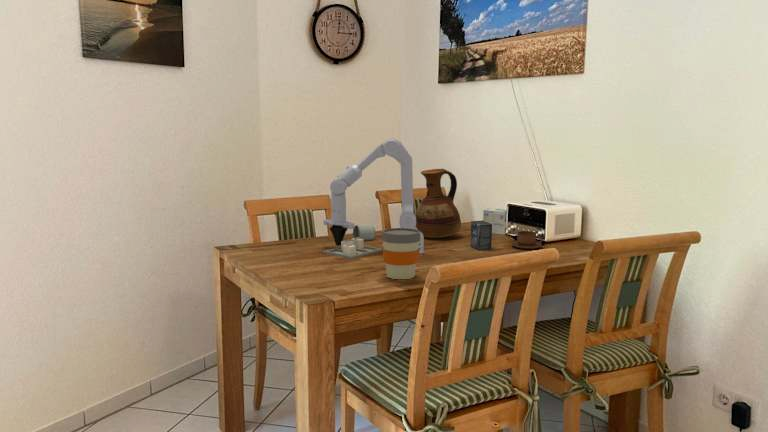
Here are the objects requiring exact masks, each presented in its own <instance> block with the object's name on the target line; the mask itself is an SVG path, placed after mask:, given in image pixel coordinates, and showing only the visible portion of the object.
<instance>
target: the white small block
mask: <svg viewBox="0 0 768 432" xmlns="http://www.w3.org/2000/svg"><path fill="white" fill-rule="evenodd" d="M350 241H354V246H356V248H359V249H362V248H364V246H365V244H364V239H360V237H357V238H351V239H350Z"/></svg>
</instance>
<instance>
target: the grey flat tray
mask: <svg viewBox="0 0 768 432" xmlns="http://www.w3.org/2000/svg"><path fill="white" fill-rule="evenodd" d="M382 248H383V247H382ZM382 248H378V247H374V246H369V245H364V248H362V249H359V248H356V255H352V256H350V255H345V254H343V250H342V249H341V246H339V247H336V248H331V249H326V250H323V254H326V255H331V256H335V257H340V258H344V259H349V260H352V259H355V258H360V257H364V256H368V255H372V254H375V253H381V252H383V250H382Z"/></svg>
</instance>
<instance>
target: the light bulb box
mask: <svg viewBox="0 0 768 432" xmlns="http://www.w3.org/2000/svg"><path fill="white" fill-rule="evenodd" d="M507 210H508V209H502V208H501V209H500V208H491V207H489V208H485V209H483V213H482V214H483V215H482V217H483V218H482V221H485V222H488V223H491V224H492V235H502V236H503V235H507V234H506V215H507Z"/></svg>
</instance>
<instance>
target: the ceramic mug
mask: <svg viewBox="0 0 768 432" xmlns="http://www.w3.org/2000/svg"><path fill="white" fill-rule="evenodd" d="M376 234H377V233H376V229H375V227H374V225H371V224H354V229H352V239H354V238H357V237H360V239H364V241H366V242H367V241H374V240H375V239H376Z"/></svg>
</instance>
